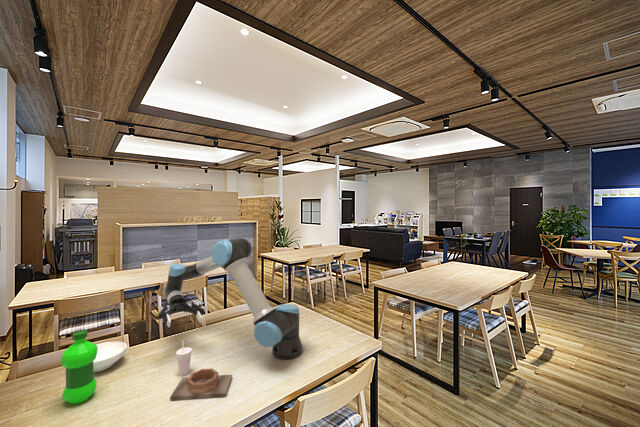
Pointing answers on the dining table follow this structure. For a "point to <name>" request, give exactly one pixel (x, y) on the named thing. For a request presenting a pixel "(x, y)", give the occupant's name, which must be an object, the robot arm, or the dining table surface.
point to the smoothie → (184, 359)
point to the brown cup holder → (202, 386)
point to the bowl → (108, 354)
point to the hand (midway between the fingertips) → (185, 322)
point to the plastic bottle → (79, 369)
